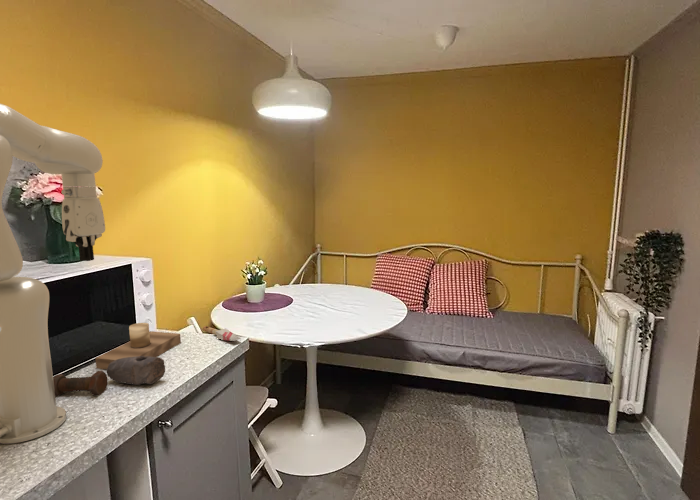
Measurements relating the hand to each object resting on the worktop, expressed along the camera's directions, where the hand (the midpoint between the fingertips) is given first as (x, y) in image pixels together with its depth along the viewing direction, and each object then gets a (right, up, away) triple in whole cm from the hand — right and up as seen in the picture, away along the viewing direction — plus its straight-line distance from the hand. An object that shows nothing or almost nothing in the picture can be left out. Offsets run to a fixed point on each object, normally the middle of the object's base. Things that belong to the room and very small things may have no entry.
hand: (87, 260), depth 118 cm
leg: (+11, -28, +8) cm, 31 cm away
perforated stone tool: (+18, -31, -10) cm, 37 cm away
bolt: (+6, -32, -15) cm, 36 cm away
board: (+11, -28, +8) cm, 31 cm away
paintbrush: (+30, -26, +22) cm, 46 cm away
